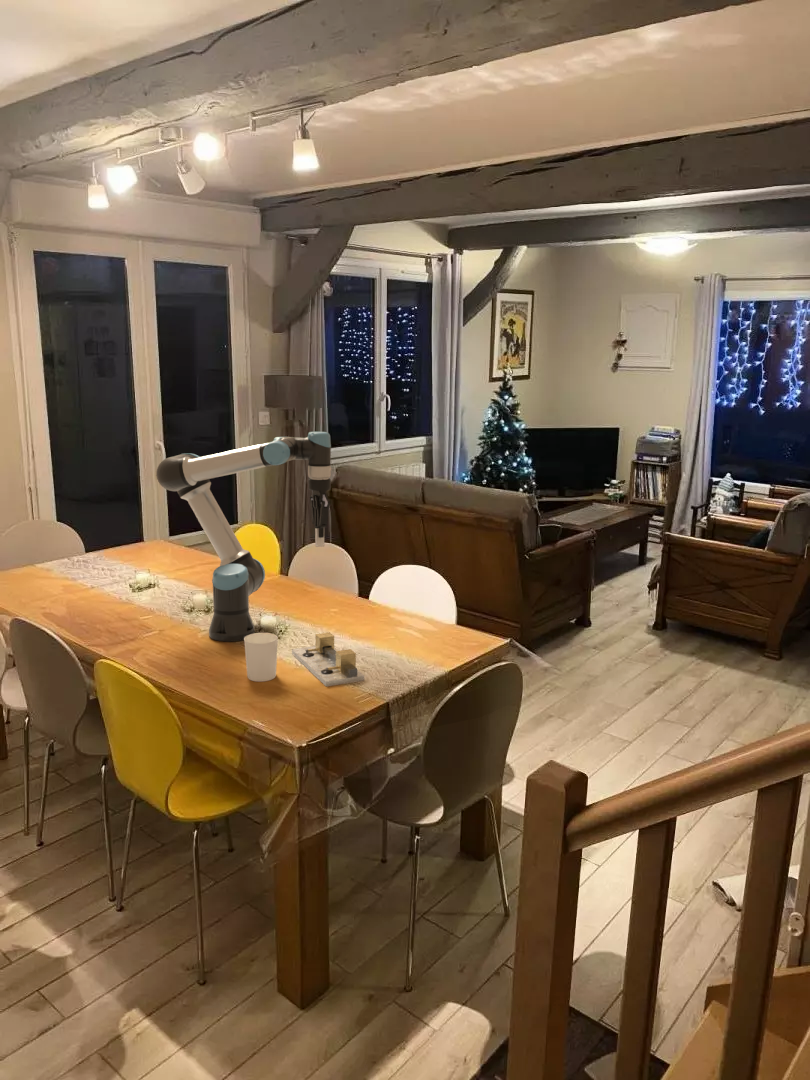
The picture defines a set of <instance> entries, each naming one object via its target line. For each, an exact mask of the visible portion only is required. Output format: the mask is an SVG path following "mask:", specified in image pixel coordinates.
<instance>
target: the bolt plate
mask: <svg viewBox="0 0 810 1080" xmlns="http://www.w3.org/2000/svg"><path fill="white" fill-rule="evenodd" d="M315 648H316V645H313V646H306V647H300V648H299V647H298V648H292V649H291V654H292V655H293V656H294V657H295V658H296V660H298V661H299V662H300V663H301V664H302V665H303V666H304V667H305V668H306V669H307V671H309V672H310V673H311V674H312V675H313V676H314V677H316V678H317V680H318V681H320V683H322V684H323V686H324V687H331V686H338V685H344V684H350V683H356V682H363V681H365V674H363V673H362V671H360V670H358V668H357V665H356V663H357V652H356V651H354V650H353V649H351V648H350V649H342V650H341V649H340V650H336V649H335V648H334V649H333V648H332V647H331V646H324V647H323V653H319V652H318V651H311V652H308V653H306V652H305V650H308V649H315Z"/></svg>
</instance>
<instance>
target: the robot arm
mask: <svg viewBox="0 0 810 1080" xmlns="http://www.w3.org/2000/svg"><path fill="white" fill-rule="evenodd" d="M331 451H332V444H331V435H330V433H329V432H327V431H309V432H308V434H307V437H296V436H294V437H293V436H276V437H274V438H273V440H272V441H269V442H264V443H260V444H255V445H251V446H250V445H249V446H246V447H245V446H244V447H241V448H236V449H231V450H227V451H223V452H219V453H218V452H217V453H214V454H213V453H212V454H208V455H203V456H200V455H197V454H195V453H185V452H184V453H181V454H178V455H174V456H170V457H167V458H165V459H163V460H162V461H161V462H160V463H159V464H158V466H157V469H156V471H155V472H156V475H155V476H156V480H157V481H158V483H159V485H160V486H161V487H162V488H164V489H165V490H166V491H170V492H177V494H178V496H179V498H180V499H182V500H185V501H187V502H188V505H189V506H190V508H191V510H192V511H193V513H194V515H195V517H196V520H197V521H198V523H199V524H200V526H201V528H202V529H203V532H205V535H206V536H207V538H208V540H209V542H210V543H211V545H212V548H214V551H215V552H216V555H217V556H218V558H219V559H220V564H219V566H218V567H216V568H215V569H214V570H213V572H212V580H211V582H212V598H213V599H212V600H213V616H212V618H211V621H210V625H209V628H208V636H209V638H211V639H212V640H214V641H217V642H218V641H219V642H237V641H238V642H239V641H244V638H245V637H246V636H247V635H250V634H254V633H255V626H254V623H253V620H252V617H251V614H250V604H249V601H250V600H249V597H250V596H251V595H252V594H254V593H255V592H257V591H259V589H260V588H261V587H262V585H263V584H264V582H265V579H266V578H265V577H266V573H265V572H266V571H265V567H264V565H263V564H262V562H260V561H259V560H258V559H255V558H253V555H252V554H251V552H250V551H249V550H247V549H244V548H243V546H242V545H241V543H240V542H239V539H238V538H237V535H236V534H235V533H234V531H233V529H232V527H231V525H230V523H229V522H228V520H227V518H226V516H225V514H224V513H223V510H222V508H221V507H220V505H219V504H218V502H217V500H216V498H215V496H214V495H213V493H212V490H211V485H212V482H211V480H210V479H215V478H219V477H224V476H229V475H234V474H237V473H238V474H239V473H242V472H248V471H252V470H257V469H263V468H266V467H272V466H280V465H282V464H285V463H287V462H290V461H293V460H295V461H296V460H297V461H308V464H307V465H308V466H307V477H308V480H307V481H308V490H310V491H312V495H310V496H309V500H310V507H311V518H312V521H311V522H312V524H313V525H314V529H315V532H314V533H315V534H314V535H315V541H314V543H315V545H314V546H315V547H316V548H322V547H325V528H327V527H328V519H329V508H330V504H331V502H330V500H328V496H327V491H330V490H331V483H332V482H331V481H332V480H331V475H332V474H331V473H332V470H333V468H332V467H331V460H332V459H331V453H332V452H331Z"/></svg>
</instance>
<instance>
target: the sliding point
mask: <svg viewBox="0 0 810 1080" xmlns="http://www.w3.org/2000/svg"><path fill="white" fill-rule="evenodd" d="M314 638H315V646H316V648H315V649H308V650H305V652H306V653H308V652H311V651H318V652H319V653H323V647H324V646H331V647H332V648H333V649H334V650H335V634H332V633H331V632H329V631H328V632H321V633H315V637H314Z"/></svg>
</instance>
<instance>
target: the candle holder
mask: <svg viewBox="0 0 810 1080" xmlns="http://www.w3.org/2000/svg"><path fill="white" fill-rule="evenodd" d="M278 640H279V637H278V635H277V634H274V633H269V632H256V633H254V634H250V635H247V636H246V637H245V638H244V640H243V641H244V653H245V664H246V676H247V677H246V678H247V679H248V680H249V681H253V682H260V683H261V682H269V681H272V680H273V679H276V676H277V663H278V662H277V661H278V660H277V659H278Z"/></svg>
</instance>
